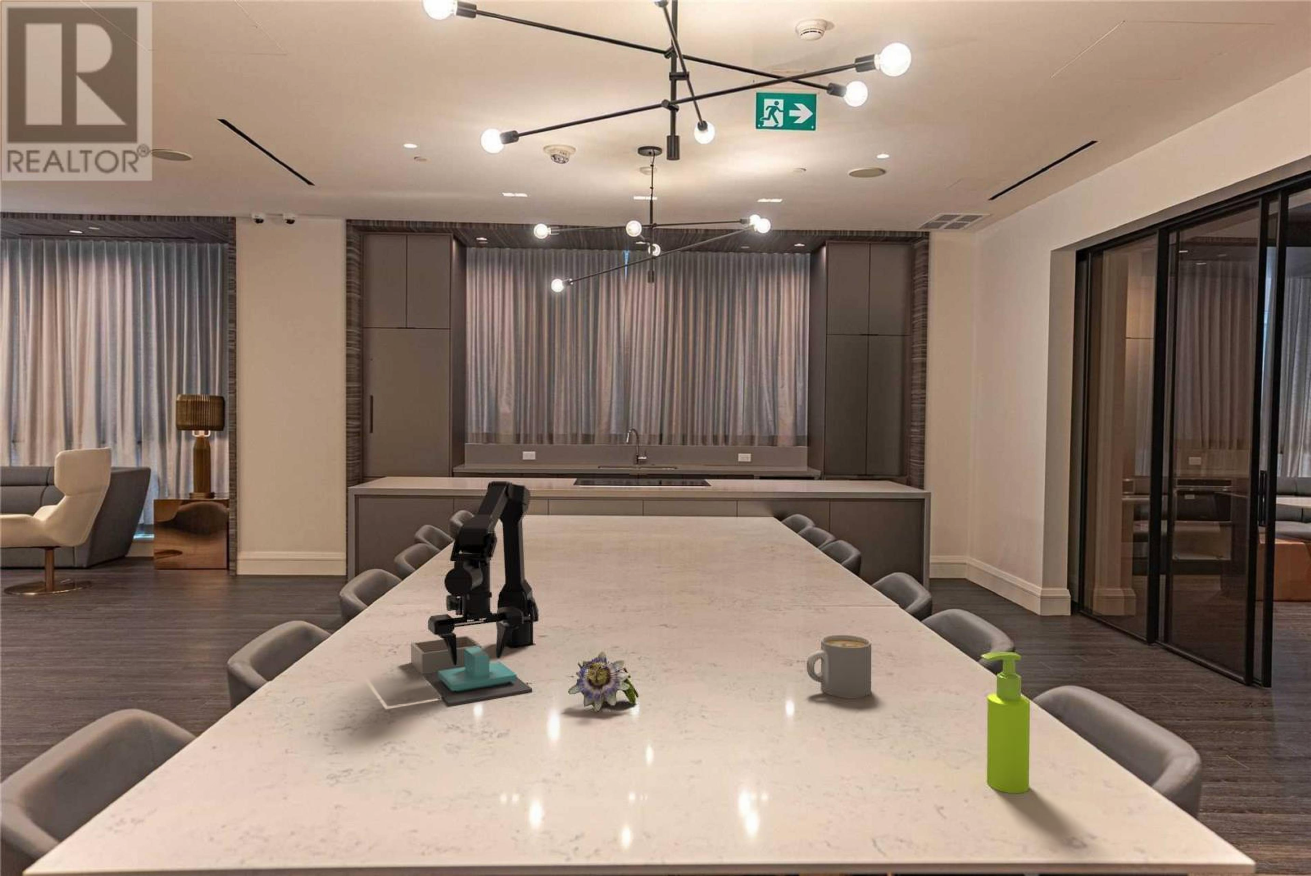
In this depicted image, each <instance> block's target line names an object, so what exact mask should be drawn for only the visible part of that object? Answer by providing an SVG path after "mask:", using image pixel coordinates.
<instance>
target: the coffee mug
mask: <svg viewBox="0 0 1311 876" xmlns="http://www.w3.org/2000/svg"><path fill="white" fill-rule="evenodd" d="M820 645H821V646H820V650H818V651H814V652H812V653H810V654H809V656H808V657H807V660H806V672H807V675H808V676H809V677H810V679H812V680H813V681H815V682H818V683H820V689H821V691H822V692H824V693H825V694H828V695H830V696H833V697H837V698H847V699H851V698H852V699H857V698H863V697H866V696H869V695H870V694H871V693H872V641H871V640H870V639H868V638H866V637H862V636H859V635H854V634H853V635H852V634H830V635H827V636H824V637H822V638H821V643H820ZM818 660H820V671H819V672H818V673H816V671H815V665H816V662H817V661H818Z"/></svg>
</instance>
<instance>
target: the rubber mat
mask: <svg viewBox="0 0 1311 876" xmlns="http://www.w3.org/2000/svg"><path fill="white" fill-rule="evenodd" d="M423 678H425V680H426V681H427V682H428V683H429V684H431V686H432V687H433V688H434V689H435V691H437V692H438V693H439V694H440V695H441V696H440V698H441V700H443V701H444V703H445V704H446V705H447V706H448V707H452V706H459V705H465V704H470V703H476V702H481V701H487V700H492V698H494V699H497V698H498V697H500V698H505V697H510V695H511V696H516V694H517V695H521V694H522V693H523V694H527V693H528V692H529V693H532V692H533V688H532V687H531V686H529V685H528V684H527V683H525V682H524V681H523V680H522V679H521V678H519V677H518V676H517V680H516V681H510V682H507V684H501V685H495V686H489V687H482V688H476V689H470V690H464V691H458V692H457V691H456V690H455V691H452V690H451V689H450V688H449V687H448V686H447V685H446V684H445V683H444V682H443V681H442V680H441V679H440V678H439V677H438V673H436V674H432V675H431V674H430V675H424V676H423ZM504 696H505V697H504ZM498 699H499V698H498Z"/></svg>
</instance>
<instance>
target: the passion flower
mask: <svg viewBox="0 0 1311 876" xmlns="http://www.w3.org/2000/svg"><path fill="white" fill-rule="evenodd" d="M577 665H578V667H579V669H580V670H579V671H576V672H575V675H576V676H577V677H578V678H577V679H576V684H574V685H572V687H570V688H569V689H568V691H567V693H568V694H569V695H576V694H578V693H581V695H583V706H584V707H589V706H592V707H593V711H595V713H598V712H599V711H600V710H601V708H602V706H603V702H604V701H606V702H607V704H608V705H610V706H612V707H615V705H616V703H617V693H618V691H622V692H623V693H624V695H625V696H626V698H627V699H628V701H629V703H630V705H632V706H634V705H636V701H637V699H638V698H639V697H640V695H639V692H638V691H637V690H636V688H635V687H634V685H633V683H631V681H630V679H631V678H632V676H631V674H630V672H629V671H628V669H627V667H624V666H625V660H624V659H621V660H617V661H614V662H612V661H611V662H610V661H608V657H607V654H606V652H604V650H603V651H600V653H598V655H597V656H596V657H594V659H593V658H591V660H583V661H582V664H581V663H580V662H578V663H577ZM597 711H598V712H597Z"/></svg>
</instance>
